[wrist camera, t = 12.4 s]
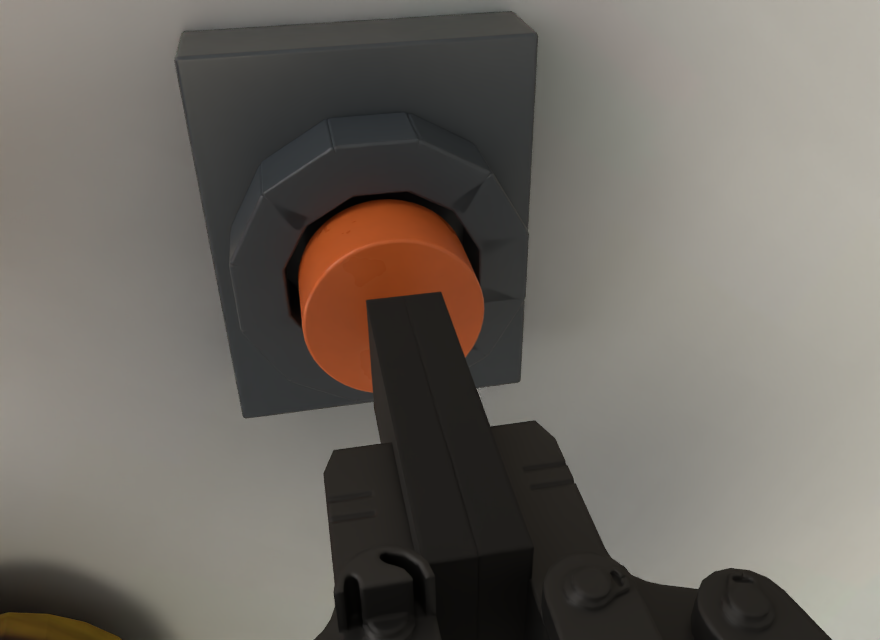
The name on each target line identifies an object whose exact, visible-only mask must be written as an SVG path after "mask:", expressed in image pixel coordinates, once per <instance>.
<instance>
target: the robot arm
mask: <svg viewBox="0 0 880 640" xmlns="http://www.w3.org/2000/svg"><path fill="white" fill-rule="evenodd" d="M366 307H367V321H368V334H369V347H370V360H371V374H372V387H373V400H374V410H375V415H376V420H377V425H378V430H379V436H380V441H381V444H375V445H368V446H360V447H353V448H346V449H339V450H333V453H332V455H331V457H330V460H329V462H328V464H327V466H326V469H325V471H324V473H323V474H324V483H325V493H326V502H327V513H328V522H329V532H330V542H331V552H332V562H333V571H334V581H335V587H334V599H335V608H334V611H333V614H332V617H331V619H330V621H329V622H328V624H327V626H326V627H325V629H324V630H323V631H322V632H321V633H320V634H319V635H318V636H317V637H316V638H315V639H314V640H832V639H831V638H830V637H829V636H828V635H827V634H826V633H825V632H824V631H823V630H822V629H821V628H820V627H819V626H818V625H817V624H816V623H815V622H814V621H813V620H812V619H811V617H810V616H809V615H808V614H807V613H806V612H805V611H804V610H803V609H802V608H801V607H800V606H799V605H798V604H797V603H796V602H795V601H794V600H793V599H792V598H791V597H790V596H789V595H788V594H787V593H786V592H785V591H784V590H783V589H782V588H781V587H779V586H778V585H777V584H775V583H774V582H773V581H771V580H770V579H769V578H767V577H765V576H762V575H760V574H757V573H755V572H752V571H750V570H742V569H734V568H729V569H724V570H720V571H715V572H713V573H712V574H711V575H709V576H708V577H706V578H705V579H704V580H702V583H701V585H700V587H699V589H693V588H684V587H676V586H668V585H660V584H656V583H651V582H647V581H644V580H642V579H640V578H637V577H635V576H633V575H631V574H630V573H629V572H628V571H627V569H626V568H625V567H624V566H622V565H621V564H619V563H618V562H616V561H615V560H613V559H612V558H611V557H610V555H609V554H608V552H607V550H606V549H605V547H604V545H603V543H602V540H601V538H600V536H599V534H598V532H597V529H596V527H595V525H594V523H593V521H592V518H591V516H590V514H589V512H588V510H587V507H586V505H585V503H584V501H583V499H582V496H581V494H580V492H579V490H578V488H577V485H576V483H575V484H574V479H573V477H572V474H571V472H570V470H569V468H568V466H567V465H566V463H565V459H564V457H563V455H562V452H561V450H560V448H559V446H558V444H557V441H556V439H555V438H554V437H553V436H552V435H551V434H550V433H548V432H547V431H546V430H545V429H544V428H543V427H542V426H541V425H539V424H538V423H537V422H536V421H528V422H520V423H513V424H506V425H499V426H491V427H490V425H489V422H488V419H487V416H486V414H485V411H484V408H483V405H482V403H481V400H480V397H479V394H478V392H477V389H476V386H475V383H474V381H473V378H472V375H471V372H470V370H469V367H468V364H467V361H466V359H465V356H464V353H463V350H462V348H461V345H460V342H459V339H458V337H457V334H456V331H455V328H454V326H453V323H452V320H451V317H450V315H449V312H448V309H447V306H446V304H445V301H444V298H443V295H442V293H441V292H432V293H423V294H414V295H406V296H397V297H388V298H379V299H370V300H366Z"/></svg>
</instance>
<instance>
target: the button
mask: <svg viewBox="0 0 880 640" xmlns="http://www.w3.org/2000/svg"><path fill="white" fill-rule="evenodd" d="M298 287H299V298H300V308H301V319H302V330H303V335H304V340H305V343H306V345H307V348H308V350H309V352H310V354H311V356H312V357H313V359H314V360H315V361H316V363H317V364H318V365H319V366H320V367H321V368H322V369H323V370H324V371H325V372H326V373H327V374H328V375H329V376H331V377H332V378H334V379H335V380H337V381H338V382H340V383H342V384H344V385H346V386H349V387H351V388H354V389H357V390H361V391H365V392H372V393H373V387H372V374H371V360H370V347H369V334H368V321H367V307H366V300H370V299H379V298H388V297H397V296H406V295H414V294H423V293H432V292H441V293H442V295H443V298H444V301H445V304H446V306H447V309H448V312H449V315H450V317H451V320H452V323H453V326H454V328H455V331H456V334H457V337H458V339H459V342H460V345H461V348H462V350H463V353H464V356H465V357H466V356H467V355H468V353H469V352H470V351H471V349H472V348H473V346H474V344H475V342H476V341H477V338H478V336H479V333H480V331H481V327H482V323H483V319H484V298H483V294H482V289H481V287H480V284H479V282H478V279H477V277H476V275H475V273H474V270H473V268H472V266H471V264H470V262H469V259H468V257H467V255H466V253H465V250H464V248H463V246H462V244H461V242H460V240H459V238H458V236H457V234H456V233H455V231H454V230H453V229H452V227H451V226H450V225H449V224H448V223H447V222H446V221H445V220H444V219H443V218H442V217H441V216H439V215H438V214H436V213H435V212H433V211H432V210H430V209H428V208H426V207H424V206H421V205H418V204H415V203H413V202H408V201H403V200H394V199H379V200H372V201H366V202H363V203H359V204H356V205H353V206H351V207H349V208H346V209H344V210H342V211H341V212H339V213H337V214H335V215H334V216H333V217H331V218H330V219H329V220H327V221H326V222H325V223H324V224H323V225H322V226H321V227H320V228H319V229H318V230H317V231H316V232H315V233H314V235H313V236H312V237H311V239H310V240H309V242H308V244H307V245H306V247H305V249H304V252H303V254H302V257H301V260H300V264H299V271H298Z"/></svg>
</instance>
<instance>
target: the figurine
mask: <svg viewBox="0 0 880 640" xmlns="http://www.w3.org/2000/svg"><path fill="white" fill-rule="evenodd" d="M0 640H122V639H121V638H120V637H118V636H116V635H114V634H111V633H109V632H107V631H105V630H102V629H100V628H98V627H96V626H93V625H91V624H89V623H87V622H83V621H79V620H74V619H70V618H65V617H61V616H56V615H52V614H41V613H15V612H7V613H3V614H0Z"/></svg>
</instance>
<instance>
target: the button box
mask: <svg viewBox="0 0 880 640" xmlns="http://www.w3.org/2000/svg"><path fill="white" fill-rule="evenodd" d="M537 47H538V35H537V33H536V32H535V31H534V30H533V29H532V28H531V27H529V26H528V25H527V24H526V23H525V22H524V21H523V20H522V19H521V18H519V17H518V16H517V15H516V14H515V13H514V12H512V11H508V12H492V13H476V14H460V15H444V16H428V17H412V18H396V19H380V20H364V21H348V22H332V23H316V24H300V25H284V26H267V27H251V28H235V29H219V30H203V31H187V32H183V33H182V34H181V37H180V41H179V45H178V49H177V52H176V56H175V60H174V61H175V66H176V72H177V77H178V82H179V87H180V92H181V98H182V103H183V108H184V113H185V118H186V124H187V129H188V134H189V139H190V144H191V150H192V155H193V160H194V165H195V170H196V176H197V181H198V186H199V191H200V196H201V202H202V207H203V212H204V217H205V222H206V228H207V233H208V238H209V243H210V248H211V254H212V259H213V264H214V269H215V274H216V280H217V285H218V290H219V295H220V300H221V306H222V311H223V316H224V321H225V326H226V332H227V337H228V342H229V347H230V352H231V358H232V363H233V368H234V373H235V378H236V384H237V389H238V394H239V399H240V404H241V409H242V415H243V417H244V418H254V417H262V416H269V415H277V414H284V413H292V412H299V411H307V410H314V409H322V408H330V407H337V406H345V405H352V404H360V403H367V402H374V400H373V393H372V392H365V391H361V390H357V389H354V388H351V387H349V386H346V385H344V384H342V383H340V382H338V381H337V380H335V379H334V378H332V377H331V376H329V375H328V374H327V373H326V372H325V371H324V370H323V369H322V368H321V367H320V366H319V365H318V364H317V363H316V361H315V360H314V359H313V357H312V356H311V354H310V352H309V350H308V348H307V345H306V343H305V340H304V335H303V330H302V319H301V308H300V298H299V287H298V271H299V264H300V260H301V257H302V254H303V252H304V249H305V247H306V245H307V244H308V242H309V240H310V239H311V237H312V236H313V235H314V233H315V232H316V231H317V230H318V229H319V228H320V227H321V226H322V225H323V224H324V223H325V222H326V221H327V220H329V219H330V218H331V217H333V216H334V215H335V214H337V213H339V212H341V211H342V210H344V209H346V208H349V207H351V206H353V205H356V204H359V203H363V202H366V201H372V200H379V199H394V200H403V201H408V202H413V203H415V204H418V205H421V206H424V207H426V208H428V209H430V210H432V211H433V212H435V213H436V214H438V215H439V216H441V217H442V218H443V219H444V220H445V221H446V222H447V223H448V224H449V225H450V226H451V227H452V229H453V230H454V231H455V233H456V234H457V236H458V238H459V240H460V242H461V244H462V246H463V248H464V250H465V253H466V255H467V257H468V259H469V262H470V264H471V266H472V268H473V270H474V273H475V275H476V277H477V279H478V282H479V284H480V287H481V289H482V294H483V298H484V319H483V323H482V327H481V331H480V333H479V336H478V338H477V341H476V342H475V344H474V346H473V348H472V349H471V351H470V352H469V353H468V355H467V356H466V357H465V359H466V361H467V364H468V367H469V370H470V372H471V375H472V378H473V381H474V383H475V386H476V388H481V387H489V386H496V385H504V384H511V383H518V382H520V380H521V361H522V342H523V322H524V303H525V297H526V280H527V261H528V241H529V234H528V224H529V204H530V185H531V165H532V145H533V126H534V106H535V87H536V67H537Z"/></svg>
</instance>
